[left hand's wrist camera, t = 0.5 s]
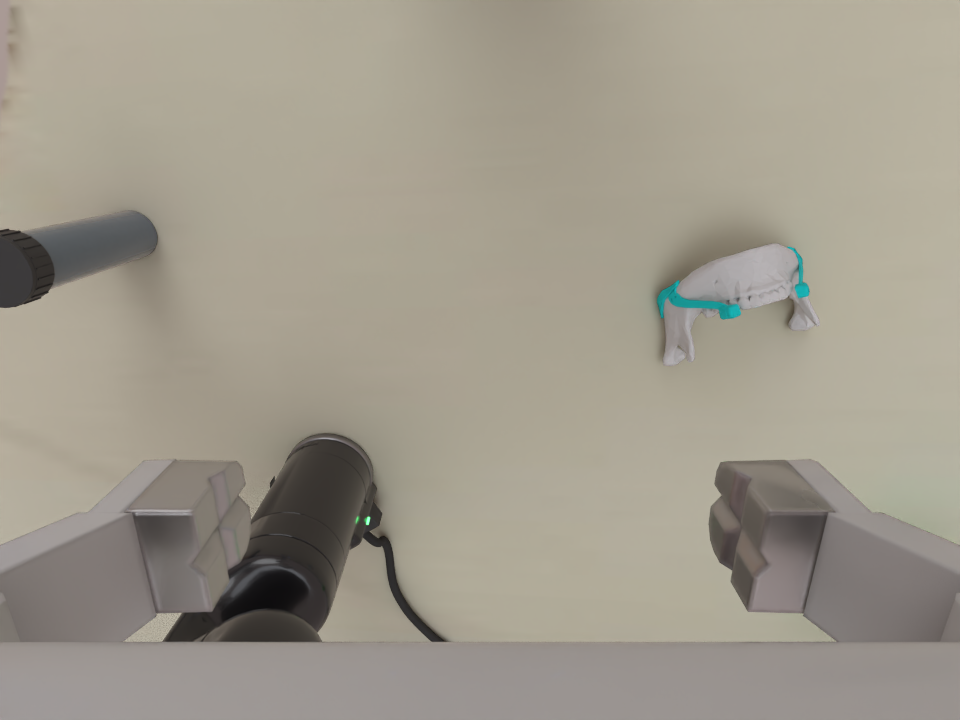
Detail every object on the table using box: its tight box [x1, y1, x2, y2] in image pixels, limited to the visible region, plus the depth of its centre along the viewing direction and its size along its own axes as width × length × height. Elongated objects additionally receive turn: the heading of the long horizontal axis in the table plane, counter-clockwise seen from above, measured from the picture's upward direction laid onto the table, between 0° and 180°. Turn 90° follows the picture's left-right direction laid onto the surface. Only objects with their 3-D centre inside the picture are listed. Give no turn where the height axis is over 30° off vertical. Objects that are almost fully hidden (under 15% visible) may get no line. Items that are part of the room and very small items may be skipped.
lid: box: [0, 229, 55, 308], centre depth 41 cm, size 5×5×2 cm
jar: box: [21, 211, 157, 289], centre depth 48 cm, size 4×4×17 cm
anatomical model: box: [657, 243, 820, 366], centre depth 54 cm, size 15×10×10 cm
